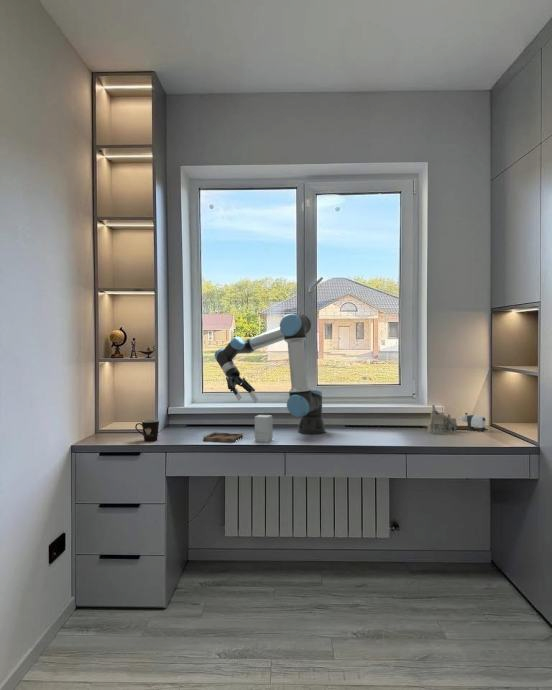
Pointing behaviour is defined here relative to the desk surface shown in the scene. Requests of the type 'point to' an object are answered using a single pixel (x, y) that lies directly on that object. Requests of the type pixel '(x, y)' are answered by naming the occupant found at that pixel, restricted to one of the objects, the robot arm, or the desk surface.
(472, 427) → the giant panda
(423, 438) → the desk surface
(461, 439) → the desk surface
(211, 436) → the walnut tray
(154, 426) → the coffee mug
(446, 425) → the ceramic cottage
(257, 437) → the supplement box
